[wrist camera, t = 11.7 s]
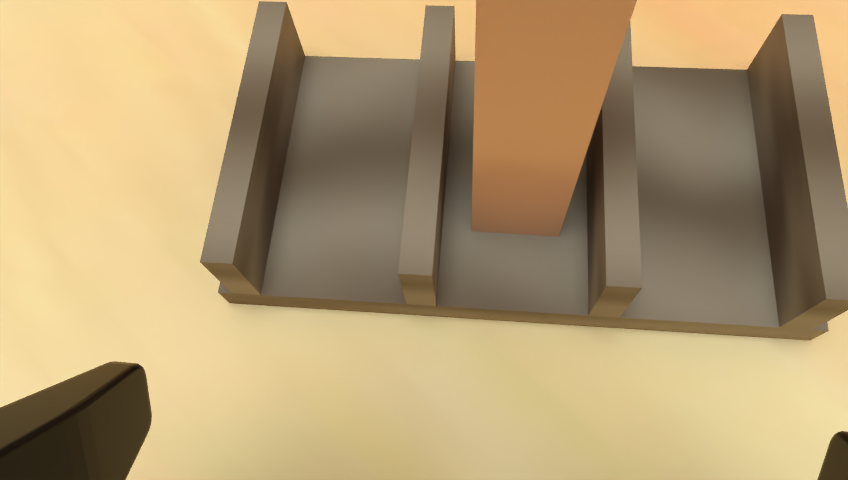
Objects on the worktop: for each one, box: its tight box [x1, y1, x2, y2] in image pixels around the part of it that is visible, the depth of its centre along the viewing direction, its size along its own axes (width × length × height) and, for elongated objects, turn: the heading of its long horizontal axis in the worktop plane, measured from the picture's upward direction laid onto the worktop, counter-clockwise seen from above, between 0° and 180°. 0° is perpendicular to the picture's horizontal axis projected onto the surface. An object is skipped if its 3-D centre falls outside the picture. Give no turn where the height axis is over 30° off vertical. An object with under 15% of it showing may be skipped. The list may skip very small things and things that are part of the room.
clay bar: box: [471, 0, 637, 237], centre depth 18 cm, size 4×3×13 cm, turn 175°
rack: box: [200, 1, 848, 340], centre depth 23 cm, size 10×20×4 cm, turn 85°
